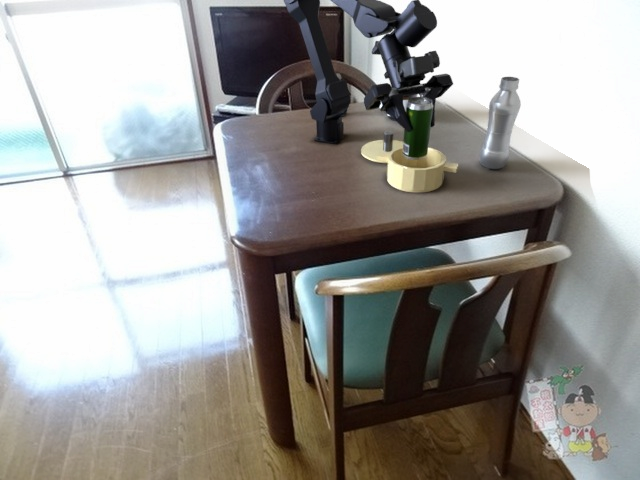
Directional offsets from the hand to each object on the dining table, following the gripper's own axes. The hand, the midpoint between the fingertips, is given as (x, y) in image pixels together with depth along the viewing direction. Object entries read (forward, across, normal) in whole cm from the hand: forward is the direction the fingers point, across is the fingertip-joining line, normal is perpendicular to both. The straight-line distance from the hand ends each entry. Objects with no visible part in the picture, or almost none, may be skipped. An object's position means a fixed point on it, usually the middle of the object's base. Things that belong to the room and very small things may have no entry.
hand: (421, 128), depth 90 cm
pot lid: (-3, +2, +20) cm, 20 cm away
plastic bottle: (+10, +20, +8) cm, 24 cm away
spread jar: (-18, +18, +36) cm, 44 cm away
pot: (+8, +1, +10) cm, 13 cm away
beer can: (+4, 0, +6) cm, 7 cm away
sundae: (-25, +2, +44) cm, 50 cm away
